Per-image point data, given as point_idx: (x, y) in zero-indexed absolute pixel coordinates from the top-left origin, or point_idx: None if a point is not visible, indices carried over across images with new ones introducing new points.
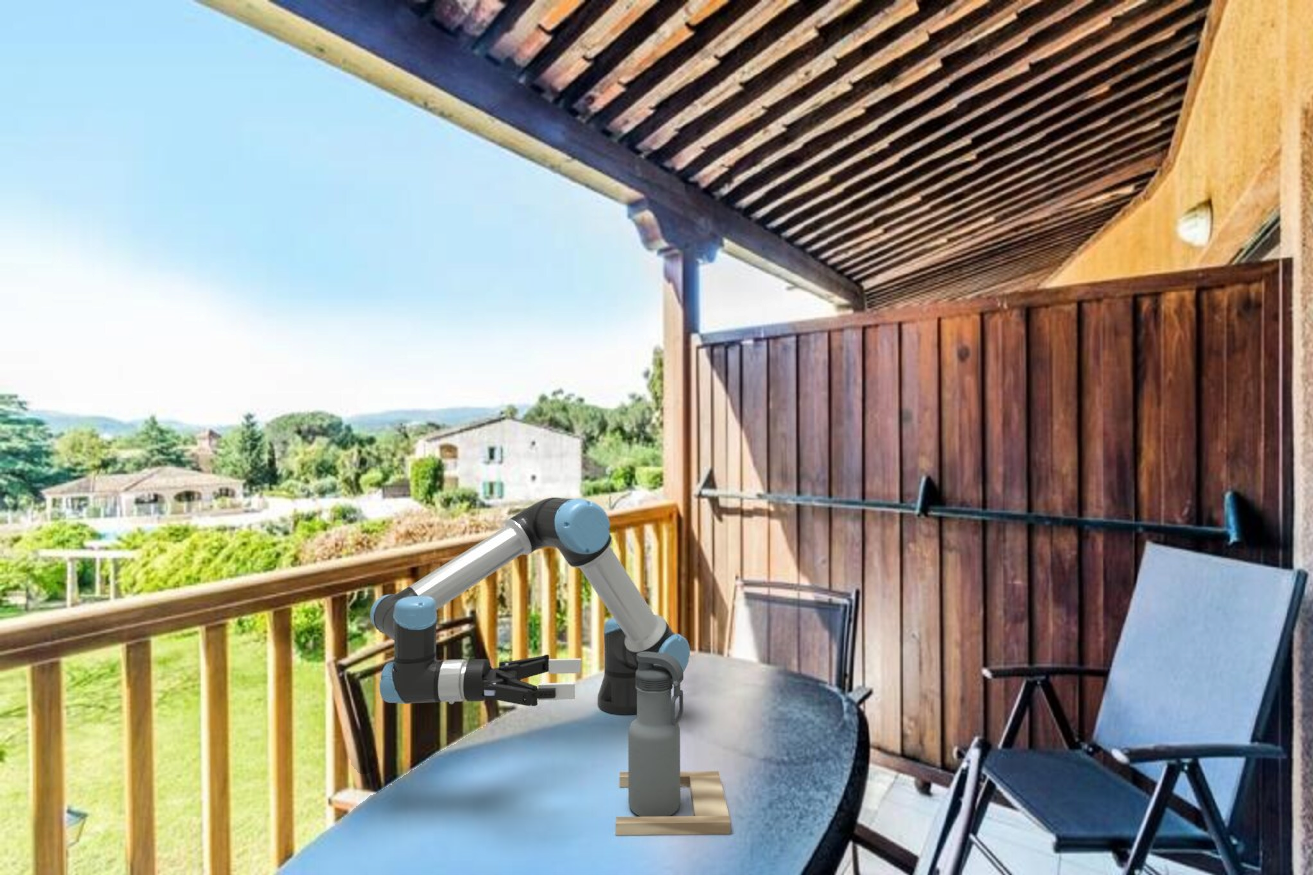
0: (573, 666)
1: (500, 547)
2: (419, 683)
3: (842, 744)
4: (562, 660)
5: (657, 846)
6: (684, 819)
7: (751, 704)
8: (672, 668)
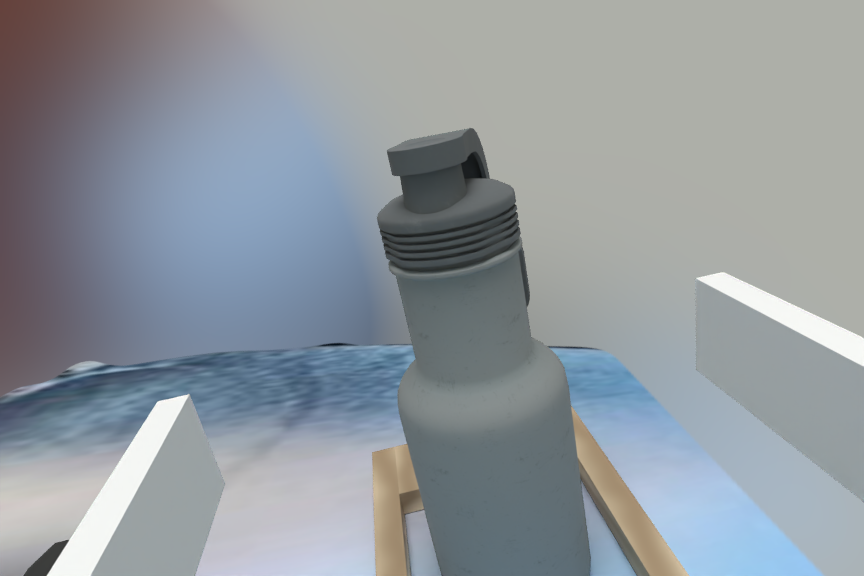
0: (190, 481)
1: None
2: None
3: (259, 358)
4: (128, 510)
5: (687, 518)
6: (596, 464)
7: (12, 478)
8: (482, 151)
